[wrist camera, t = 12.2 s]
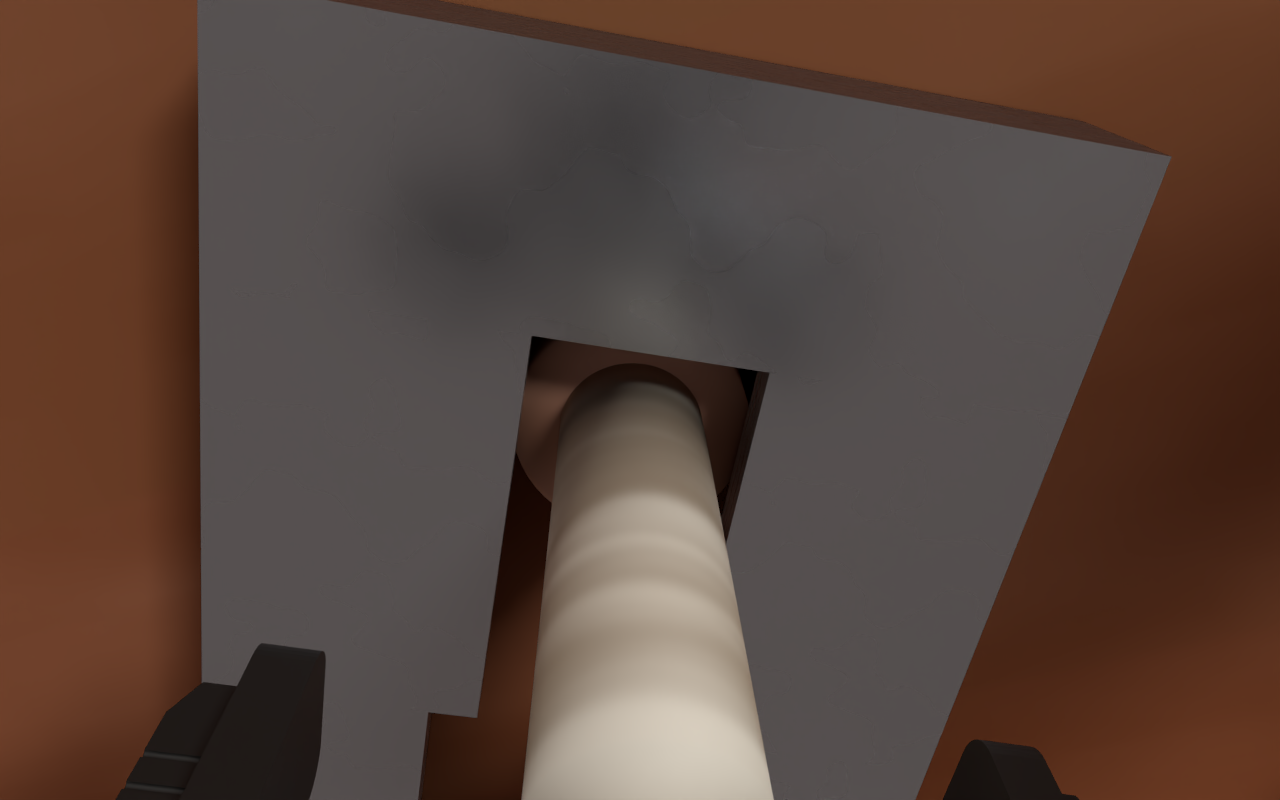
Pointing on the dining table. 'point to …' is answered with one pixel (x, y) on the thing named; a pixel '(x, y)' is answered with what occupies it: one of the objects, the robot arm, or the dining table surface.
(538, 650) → the stud
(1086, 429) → the dining table surface
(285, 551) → the keyhole plate
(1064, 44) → the dining table surface
